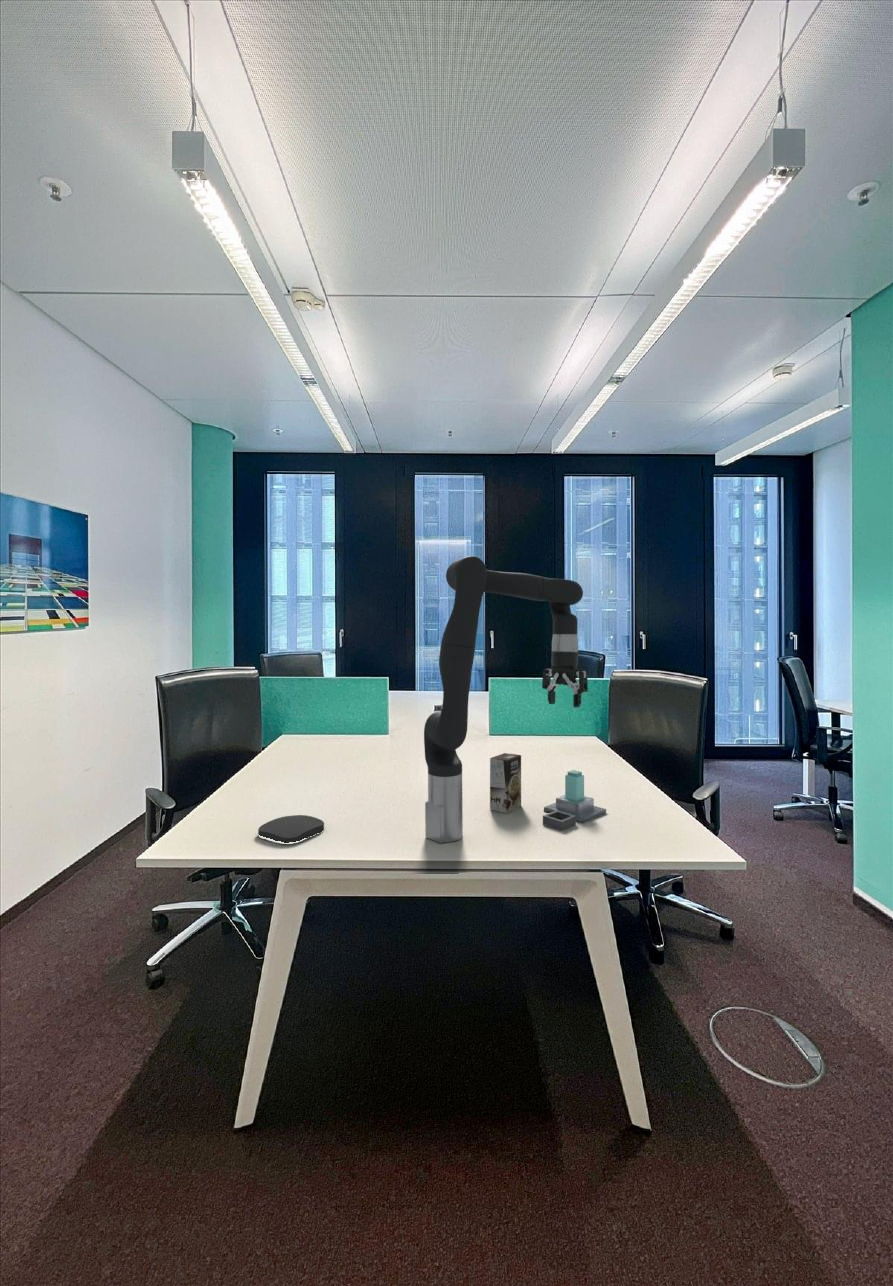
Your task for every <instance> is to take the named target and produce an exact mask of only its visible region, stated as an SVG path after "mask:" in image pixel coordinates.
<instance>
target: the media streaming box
mask: <svg viewBox="0 0 893 1286" xmlns="http://www.w3.org/2000/svg"><path fill="white" fill-rule="evenodd" d="M323 830H324V831H325V822H324V821H323V819H320V818H318V817H316V816H310V815H306V814H305V815H304V814H297V815H286V816H285V815H284V816H281V817H277V818H274V819H272V820H270V821H267V822H265V823H263V824H261V825H260V826H259V827H258V828H257V831H258V832H257V835H258V834H259V835H260V836H263V837H266V838H270V839H273V840H275V841H281V842H284V843H289V842H296V841H300V840H302V839H304V838H308V837H310V836H313V835H315V834H317V833H320V832H322V831H323ZM324 831H323V832H324ZM323 832H322V833H323ZM320 834H321V833H320Z"/></svg>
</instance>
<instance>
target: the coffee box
mask: <svg viewBox="0 0 893 1286" xmlns="http://www.w3.org/2000/svg"><path fill="white" fill-rule="evenodd" d="M520 807H522V755H521V754H517V753H505V752H504V753H501V754H498V755H495V756H492V757H489V810H491V811H494V812H499V813H504V814H508V813H511V812H512V811H514V810H516V809H518V808H520Z"/></svg>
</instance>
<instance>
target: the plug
mask: <svg viewBox="0 0 893 1286" xmlns="http://www.w3.org/2000/svg"><path fill="white" fill-rule="evenodd" d="M564 779H565V781H564V783H565V784H564V785H565V787H564V788H565V791H564V793H565V794H564V795H565V799H567V800H571V801H575V802H579V801H582V800H584V796H585V774H583V773H582V771H579V770H574V769H572V770H569V771H567V774H565V777H564Z"/></svg>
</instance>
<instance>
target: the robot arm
mask: <svg viewBox="0 0 893 1286" xmlns="http://www.w3.org/2000/svg"><path fill="white" fill-rule="evenodd" d="M445 580H446V582H447V584H448V586H449V587H450V588H451V589H452V590H453V591H455V592H454V601H453V606H452V610H451V613H450V616H449V618H448V621H447V623H446V625H445V628H444V631H443V634H442V637H441V641H440V649H439V656H438V658H439V659H438V669H439V675H440V679H441V684H442V693H443V694H442V704H441V710H440V711H435V712H433V713H431V714H429V716H428V717H427V719H426V720H425V723H424V727H423V728H424V729H423V744H424V759H425V764H426V766H427V801H425V804H424V814H425V815H424V816H425V818H424V820H425V826H424V827H425V829H424V831H425V838H426V839H429V840H432V841H434V842H436V843H438V844H443V843H451V842H452V843H453V842H456V841H459V840H461V839H462V838H463V836H464V835H463V833H464V832H463V828H464V827H463V825H464V824H463V822H464V821H463V819H464V818H463V817H464V815H463V812H464V811H463V763H462V761H461V759H460V757H459V756H458V753H457V749H459V748H460V747H461V746H462V745H464V742H465V741H466V738H467V733H468V722H469V717H468V716H469V698H470V697H469V695H470V690H471V689H470V688H471V681H472V673H473V666H474V661H475V660H474V659H475V652H476V645H477V643H476V642H477V635H478V629H479V628H478V627H479V626H478V625H479V617H480V609H481V605H482V601H483V600H482V599H483V596H484V593H490V594H491V593H492V594H497V595H498V594H499V595H504V596H508V597H509V596H510V597H515V598H520V599H526V600H529V601H531V600H532V601H536V602H537V601H538V602H546V601H547V602H548V604H549V609H550V613H551V616H552V638H551V667H552V668H543V670H542V681H541V688H542V689H545V690H546V691H547V702H548V704H549V705H555V703H556V691H555V690H556V689H557V687H558V686H560V685H562V686H569V688H570V689H571V690H572V692H573V693H574V694H573V697H572V699H573V701H572V702H573V705H572V706H573V708H580V707H581V705H582V694H583V693H587V692H588V691H589V685H588V684H589V683H588V672H587V671H586V670H581V671H578V667H579V666H578V665H579V639H578V617H577V616H576V615H575V614H573V613H572V610H571V606H573V605H576V604H578V603H579V602H581V600H582V598H583V596H584V591H583V588H582V586H581V585H580V584H579V583H578V582H576V581H575V580H571V579H566V578H564V579H563V578H552V577H551V578H549V577H544V576H540V575H535V574H530V573H523V572H509V571H506V572H505V571H497V570H489V569H487V567H486V564H485V562H484V561H483V560H482V558H480V557H478V556H476V555H468V556H465V557H462V558H460V559H457V560H455V561H453V562H452V563H450V565H449V566H448V568H447V569H446V573H445ZM551 677H553V678H552V679H551ZM577 678H578V680H577Z"/></svg>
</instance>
